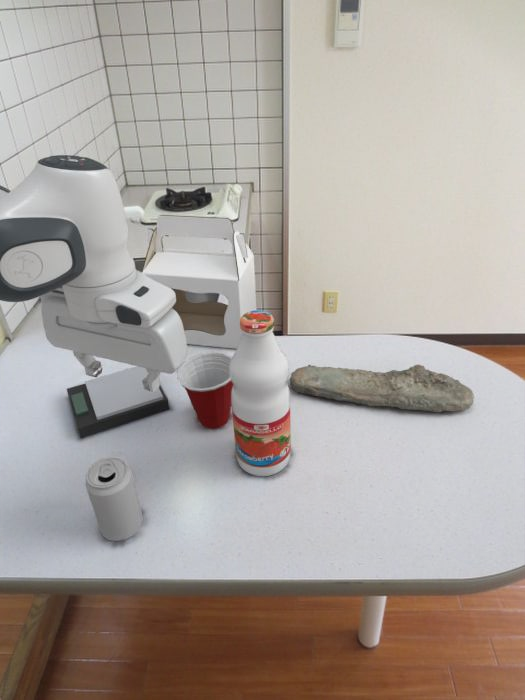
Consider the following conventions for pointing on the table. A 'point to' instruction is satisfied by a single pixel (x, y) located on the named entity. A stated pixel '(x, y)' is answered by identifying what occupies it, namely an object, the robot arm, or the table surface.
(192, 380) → the plastic cup
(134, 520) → the beverage can
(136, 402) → the kitchen scale
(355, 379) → the long grey stone
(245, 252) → the gable box
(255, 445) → the fruit juice
